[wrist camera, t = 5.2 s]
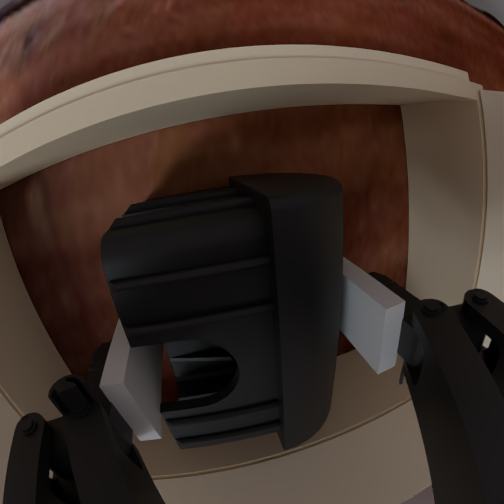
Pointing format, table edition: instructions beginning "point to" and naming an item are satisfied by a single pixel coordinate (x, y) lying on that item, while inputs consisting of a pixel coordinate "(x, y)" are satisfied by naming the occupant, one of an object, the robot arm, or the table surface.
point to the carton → (347, 365)
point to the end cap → (236, 302)
